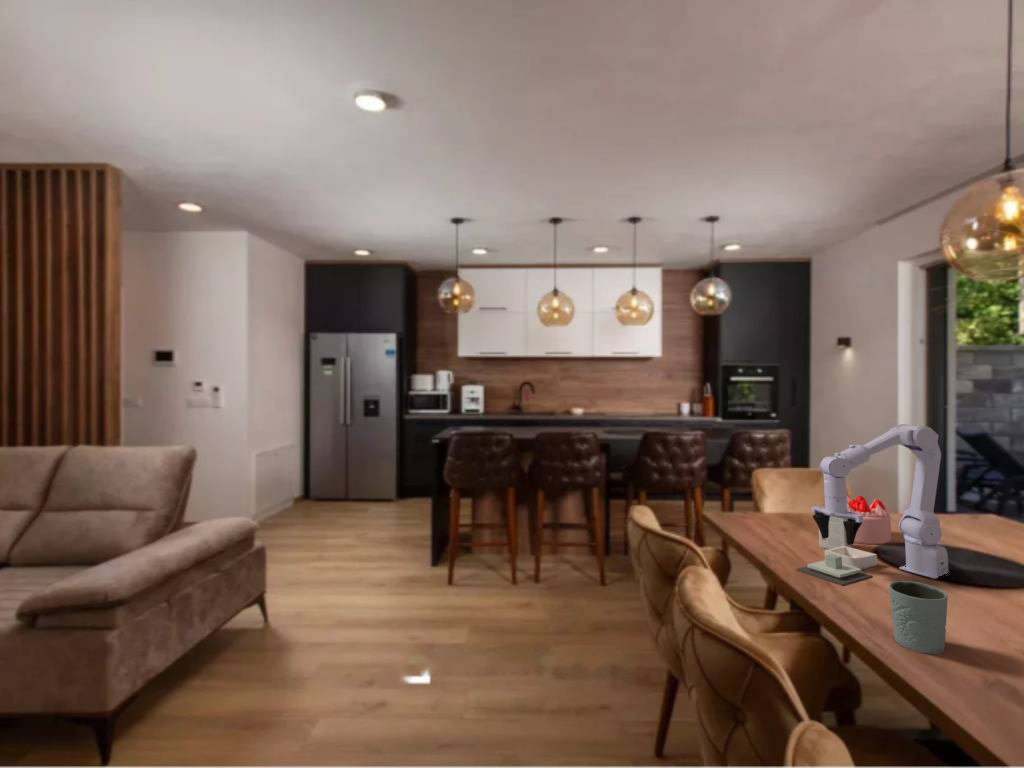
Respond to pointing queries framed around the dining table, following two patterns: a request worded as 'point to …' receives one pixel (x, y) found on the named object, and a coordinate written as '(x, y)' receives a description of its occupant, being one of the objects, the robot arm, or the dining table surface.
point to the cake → (871, 521)
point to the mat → (839, 581)
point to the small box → (834, 534)
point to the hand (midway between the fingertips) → (837, 541)
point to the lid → (834, 567)
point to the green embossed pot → (919, 616)
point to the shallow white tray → (854, 557)
